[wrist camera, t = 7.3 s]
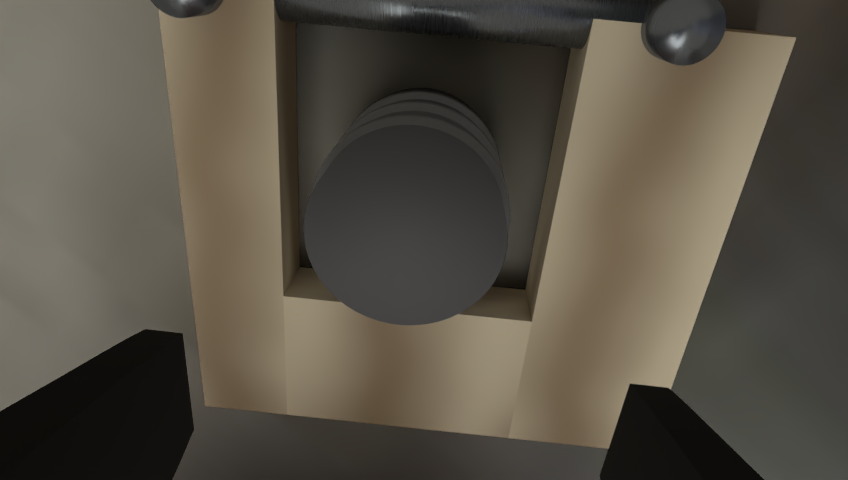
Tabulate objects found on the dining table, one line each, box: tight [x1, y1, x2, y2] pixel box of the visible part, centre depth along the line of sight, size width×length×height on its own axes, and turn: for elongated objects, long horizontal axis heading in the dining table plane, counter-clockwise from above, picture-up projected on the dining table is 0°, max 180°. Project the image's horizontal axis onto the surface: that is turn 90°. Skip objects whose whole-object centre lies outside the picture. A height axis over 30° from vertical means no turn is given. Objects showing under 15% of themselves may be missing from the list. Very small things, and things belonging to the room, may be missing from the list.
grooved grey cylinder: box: [304, 88, 510, 325], centre depth 15 cm, size 5×5×6 cm
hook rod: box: [151, 0, 726, 66], centre depth 14 cm, size 14×2×3 cm, turn 85°
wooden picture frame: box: [159, 0, 796, 449], centre depth 17 cm, size 16×14×2 cm
